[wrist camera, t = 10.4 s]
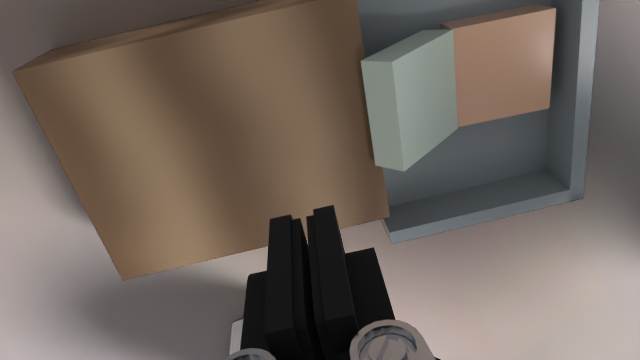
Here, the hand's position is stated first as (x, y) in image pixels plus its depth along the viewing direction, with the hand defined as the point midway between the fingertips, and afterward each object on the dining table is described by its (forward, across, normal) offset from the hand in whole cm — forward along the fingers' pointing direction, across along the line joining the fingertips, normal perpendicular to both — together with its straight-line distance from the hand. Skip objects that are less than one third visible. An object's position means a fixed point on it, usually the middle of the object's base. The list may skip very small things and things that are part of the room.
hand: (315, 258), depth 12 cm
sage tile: (+12, -5, 0) cm, 13 cm away
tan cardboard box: (+14, +4, 0) cm, 14 cm away
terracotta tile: (+12, -10, 0) cm, 16 cm away
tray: (+14, -9, 0) cm, 17 cm away
